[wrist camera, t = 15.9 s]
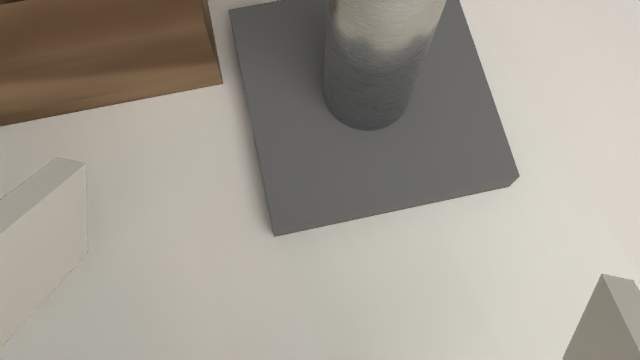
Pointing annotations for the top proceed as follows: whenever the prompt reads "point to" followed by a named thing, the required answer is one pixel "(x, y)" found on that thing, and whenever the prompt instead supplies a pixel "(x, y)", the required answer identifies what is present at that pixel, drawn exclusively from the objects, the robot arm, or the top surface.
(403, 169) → the mat
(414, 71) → the grey cylindrical peg
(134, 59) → the socket block
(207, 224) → the top surface
